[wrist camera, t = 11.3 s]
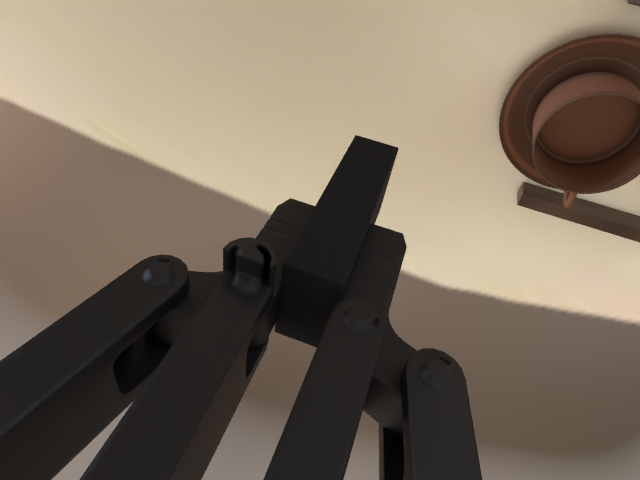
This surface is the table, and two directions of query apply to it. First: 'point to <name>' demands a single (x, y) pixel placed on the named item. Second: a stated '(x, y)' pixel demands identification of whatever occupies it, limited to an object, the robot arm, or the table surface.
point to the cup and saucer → (577, 116)
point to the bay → (581, 207)
